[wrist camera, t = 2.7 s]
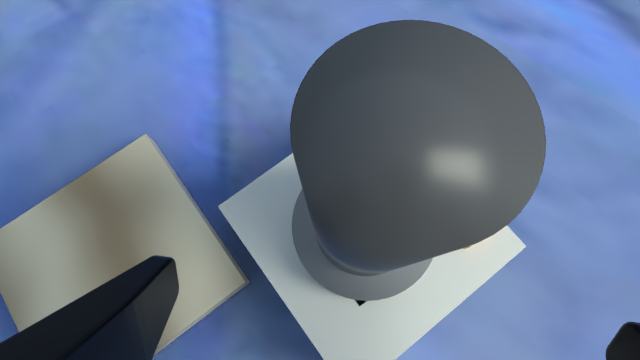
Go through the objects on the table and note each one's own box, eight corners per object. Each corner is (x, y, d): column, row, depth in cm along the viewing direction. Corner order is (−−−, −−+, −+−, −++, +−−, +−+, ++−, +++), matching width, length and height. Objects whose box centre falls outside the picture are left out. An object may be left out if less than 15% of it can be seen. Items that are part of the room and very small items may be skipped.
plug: (347, 322, 17) (395, 415, 4) (280, 231, 18) (167, 97, 6) (433, 251, 18) (687, 155, 5) (363, 168, 19) (428, -71, 6)
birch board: (77, 413, 16) (61, 421, 15) (-5, 246, 18) (-23, 243, 17) (250, 282, 17) (245, 282, 16) (154, 141, 19) (145, 133, 19)
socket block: (346, 378, 16) (351, 403, 12) (235, 219, 18) (212, 202, 15) (494, 253, 17) (535, 244, 14) (373, 119, 20) (383, 81, 16)
